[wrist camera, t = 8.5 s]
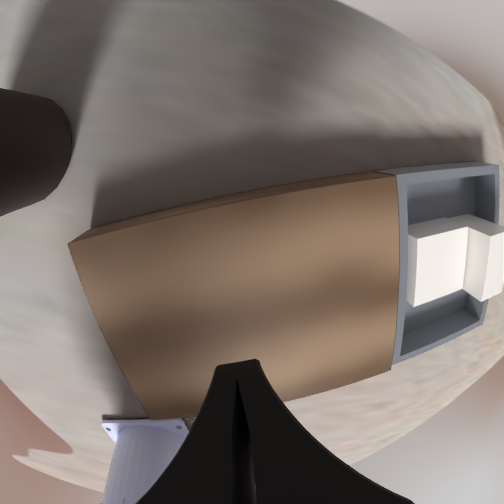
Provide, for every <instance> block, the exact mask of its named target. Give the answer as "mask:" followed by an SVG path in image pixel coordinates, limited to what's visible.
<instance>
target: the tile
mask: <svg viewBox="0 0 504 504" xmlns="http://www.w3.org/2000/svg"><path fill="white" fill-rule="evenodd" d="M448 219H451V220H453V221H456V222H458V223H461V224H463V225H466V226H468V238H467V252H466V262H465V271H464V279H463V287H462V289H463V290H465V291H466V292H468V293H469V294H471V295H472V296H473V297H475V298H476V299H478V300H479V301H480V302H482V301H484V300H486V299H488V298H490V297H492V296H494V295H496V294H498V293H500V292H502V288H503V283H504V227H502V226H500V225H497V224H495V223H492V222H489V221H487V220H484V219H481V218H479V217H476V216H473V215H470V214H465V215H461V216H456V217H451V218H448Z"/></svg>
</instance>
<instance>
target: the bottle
mask: <svg viewBox="0 0 504 504" xmlns="http://www.w3.org/2000/svg"><path fill="white" fill-rule="evenodd" d="M71 141H72V138H71V132H70V126H69V122H68V120H67V118H66V116H65V114H64V112H63V110H62V109H61V108H60V107H59V106H58V105H57V104H56V103H55V102H53V101H52V100H51V99H47V98H43V97H39V96H35V95H31V94H26V93H22V92H17V91H12V90H7V89H2V88H0V216H3V215H5V214H8V213H10V212H13V211H15V210H18V209H21V208H23V207H26V206H29V205H32V204H34V203H36V202H39V201H41V200H43V199H45V198H46V197H47V196H48V195H49V194H50V193H51V192H53V191H54V190H55V189H56V188H57V186H58V185H59V183H60V181H61V179H62V178H63V176H64V174H65V172H66V169H67V166H68V162H69V159H70V155H71Z"/></svg>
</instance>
